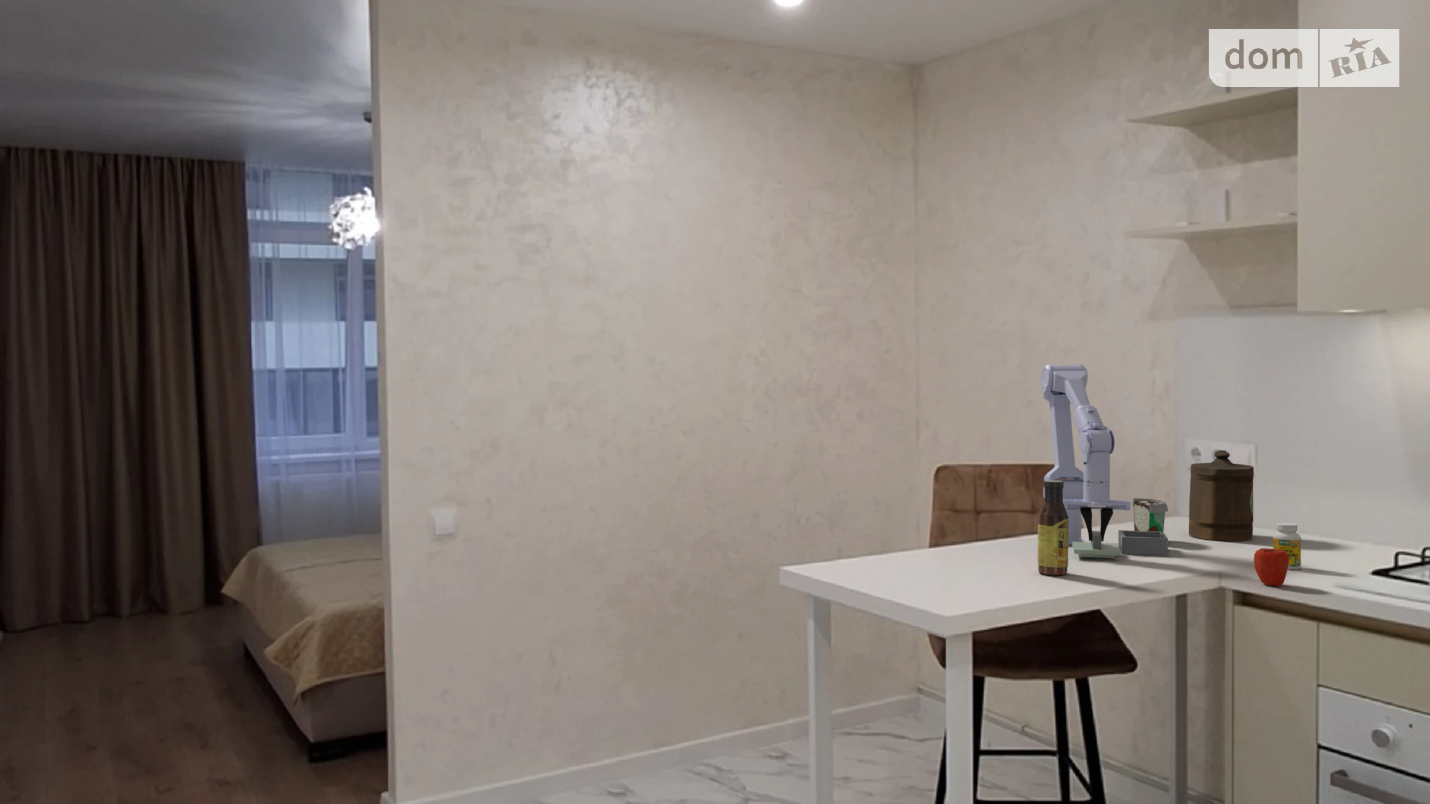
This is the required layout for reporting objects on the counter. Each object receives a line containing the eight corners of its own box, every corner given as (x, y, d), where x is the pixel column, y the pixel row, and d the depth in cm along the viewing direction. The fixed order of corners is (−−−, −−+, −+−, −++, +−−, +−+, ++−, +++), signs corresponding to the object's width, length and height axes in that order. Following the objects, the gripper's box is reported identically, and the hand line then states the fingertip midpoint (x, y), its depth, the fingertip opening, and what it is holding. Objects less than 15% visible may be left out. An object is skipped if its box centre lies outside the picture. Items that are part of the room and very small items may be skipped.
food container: (1175, 545, 269) (1176, 504, 268) (1150, 545, 269) (1150, 504, 268) (1156, 537, 281) (1157, 497, 280) (1132, 537, 281) (1132, 498, 281)
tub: (1121, 554, 258) (1121, 537, 258) (1118, 546, 268) (1118, 530, 267) (1167, 555, 255) (1168, 538, 255) (1162, 548, 265) (1162, 531, 265)
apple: (1246, 583, 225) (1247, 547, 224) (1268, 580, 227) (1268, 544, 227) (1273, 589, 219) (1274, 552, 219) (1295, 586, 222) (1296, 549, 221)
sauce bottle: (1063, 577, 232) (1064, 483, 231) (1033, 574, 235) (1034, 481, 234) (1071, 572, 237) (1072, 480, 237) (1042, 569, 241) (1042, 478, 240)
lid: (1074, 557, 251) (1074, 536, 251) (1072, 549, 261) (1072, 529, 261) (1120, 559, 249) (1121, 537, 248) (1117, 550, 258) (1117, 530, 258)
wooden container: (1266, 539, 276) (1267, 451, 275) (1217, 543, 272) (1218, 453, 271) (1223, 530, 290) (1224, 446, 289) (1175, 533, 286) (1176, 448, 285)
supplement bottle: (1298, 566, 242) (1298, 522, 242) (1303, 570, 237) (1303, 526, 237) (1270, 564, 244) (1271, 521, 243) (1275, 569, 239) (1275, 525, 238)
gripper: (1064, 482, 252) (1063, 542, 253) (1131, 484, 248) (1131, 544, 249) (1062, 479, 259) (1062, 537, 260) (1128, 480, 255) (1128, 539, 256)
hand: (1096, 540), depth 255 cm, fingers closed on lid
